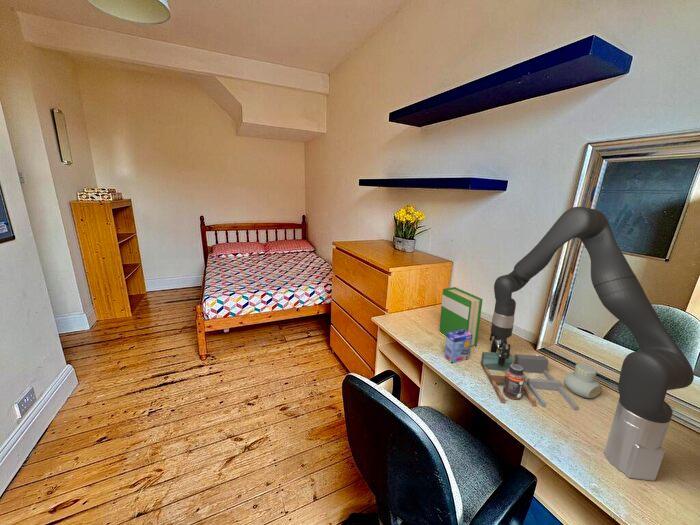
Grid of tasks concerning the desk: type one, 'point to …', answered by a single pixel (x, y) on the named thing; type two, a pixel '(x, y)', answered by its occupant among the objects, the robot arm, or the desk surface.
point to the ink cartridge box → (458, 345)
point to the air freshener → (583, 381)
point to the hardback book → (460, 312)
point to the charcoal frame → (540, 366)
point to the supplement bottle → (514, 382)
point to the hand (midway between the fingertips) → (496, 358)
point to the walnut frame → (491, 362)
